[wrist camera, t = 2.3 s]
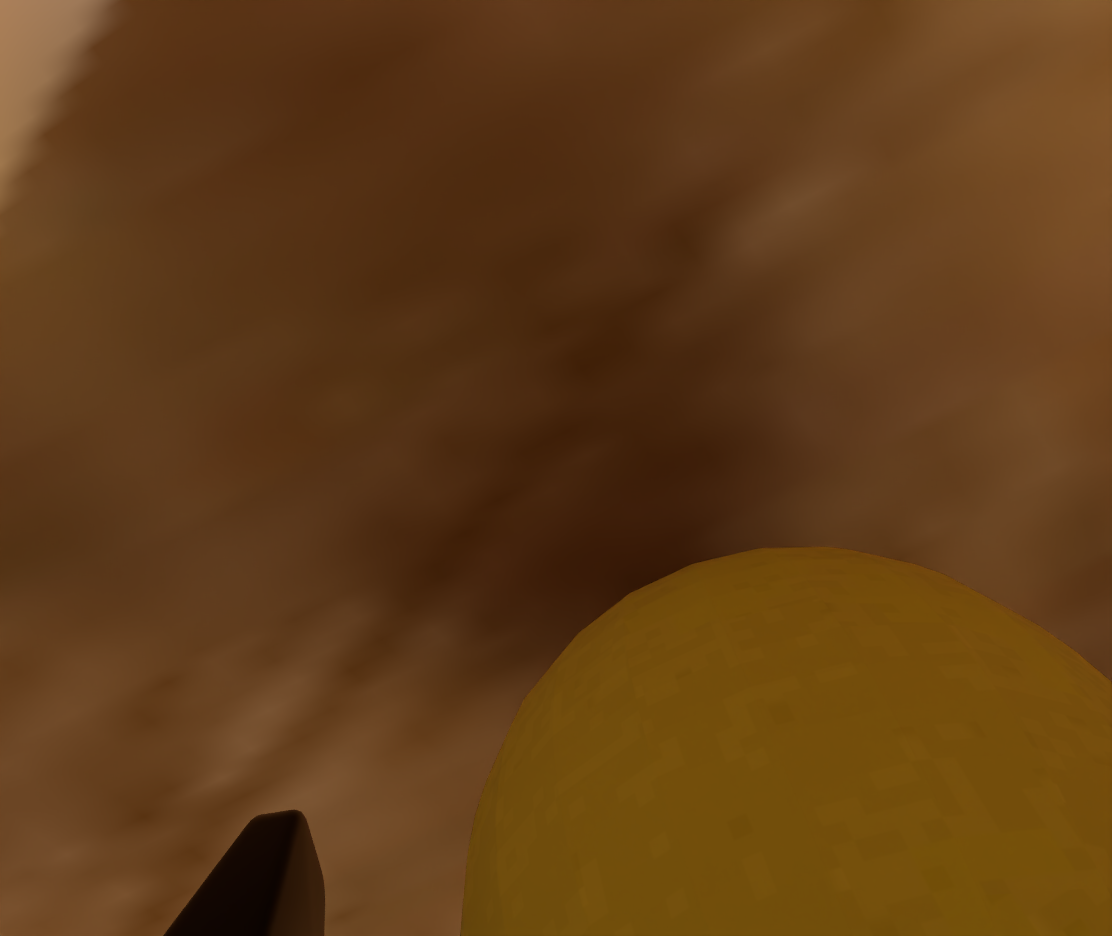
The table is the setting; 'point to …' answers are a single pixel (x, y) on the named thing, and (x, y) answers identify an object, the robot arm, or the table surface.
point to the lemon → (802, 765)
